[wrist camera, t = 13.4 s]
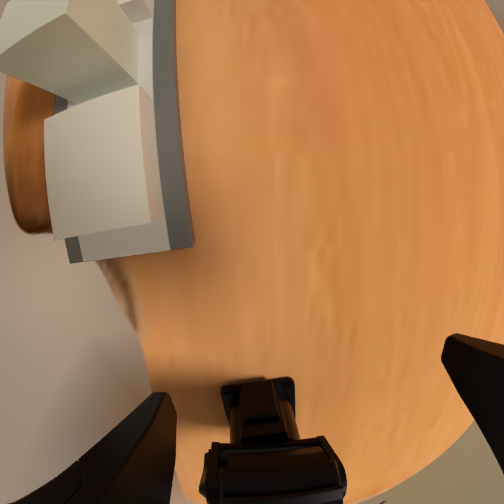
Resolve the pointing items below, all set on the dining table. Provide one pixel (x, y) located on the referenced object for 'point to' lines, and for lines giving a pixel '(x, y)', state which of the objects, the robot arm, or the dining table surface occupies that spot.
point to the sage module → (70, 46)
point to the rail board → (123, 155)
